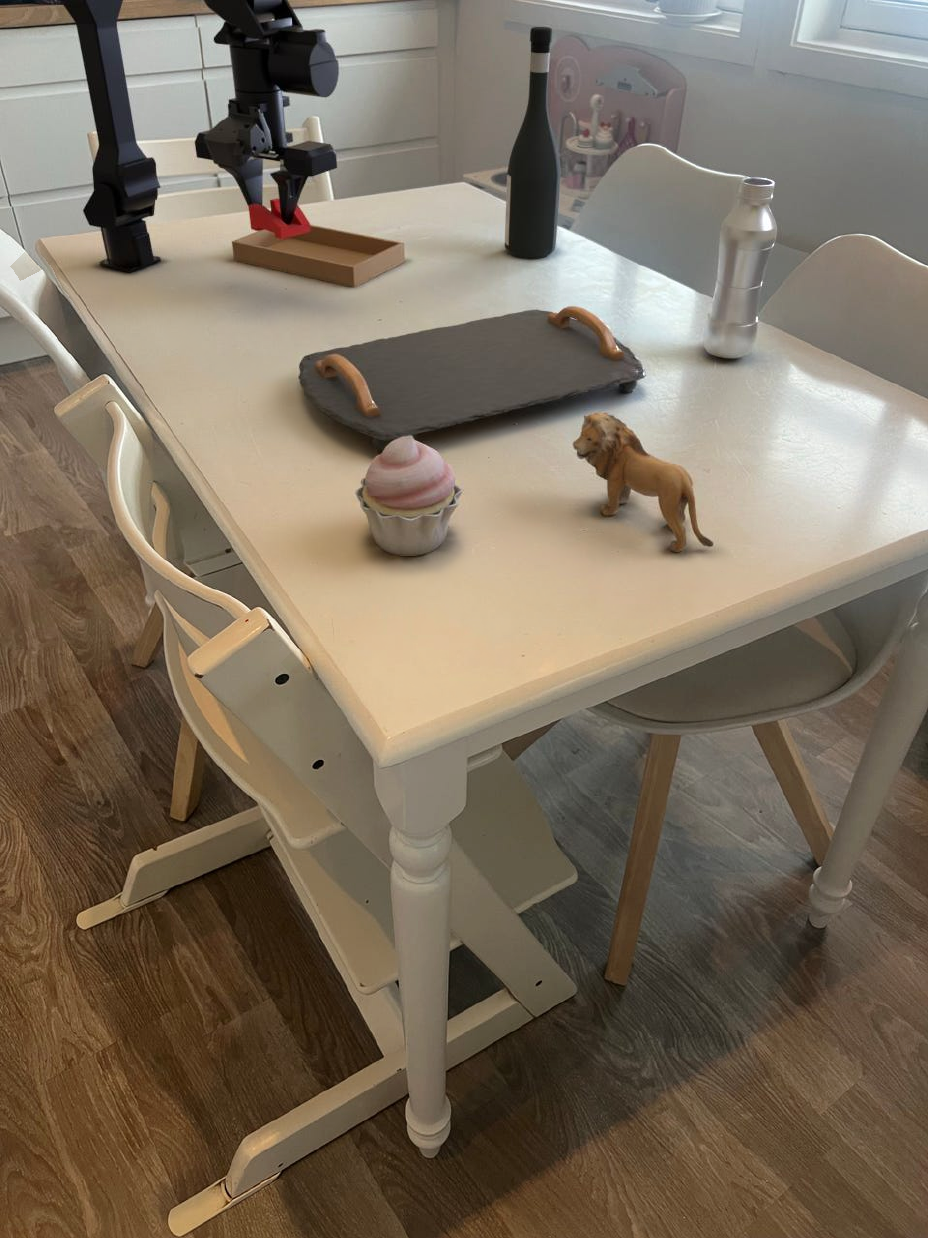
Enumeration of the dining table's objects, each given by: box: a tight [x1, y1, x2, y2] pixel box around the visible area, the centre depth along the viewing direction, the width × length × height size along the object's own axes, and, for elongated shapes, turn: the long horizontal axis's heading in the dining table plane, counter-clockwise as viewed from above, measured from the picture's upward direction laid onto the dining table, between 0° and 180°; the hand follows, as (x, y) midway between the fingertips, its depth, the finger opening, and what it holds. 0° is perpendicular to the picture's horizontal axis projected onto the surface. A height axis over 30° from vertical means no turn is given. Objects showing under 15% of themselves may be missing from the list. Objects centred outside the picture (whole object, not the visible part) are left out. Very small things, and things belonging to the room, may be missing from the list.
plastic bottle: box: [702, 177, 778, 359], centre depth 112 cm, size 6×7×20 cm
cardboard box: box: [231, 224, 406, 288], centre depth 144 cm, size 22×13×3 cm, turn 60°
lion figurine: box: [572, 411, 714, 553], centre depth 85 cm, size 15×5×9 cm, turn 50°
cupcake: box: [354, 435, 465, 557], centre depth 82 cm, size 9×9×10 cm
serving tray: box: [298, 305, 647, 455], centre depth 108 cm, size 39×23×6 cm, turn 119°
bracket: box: [247, 197, 311, 239], centre depth 126 cm, size 6×5×3 cm
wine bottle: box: [504, 26, 562, 259], centre depth 140 cm, size 8×8×30 cm
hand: (272, 221), depth 126 cm, fingers closed on bracket, 4 cm apart
